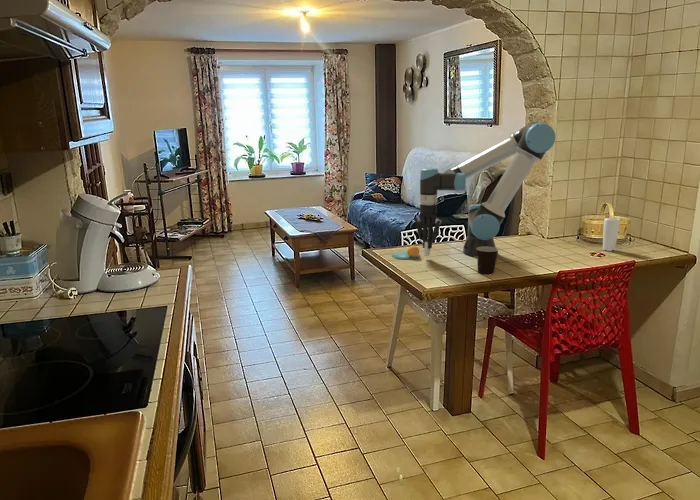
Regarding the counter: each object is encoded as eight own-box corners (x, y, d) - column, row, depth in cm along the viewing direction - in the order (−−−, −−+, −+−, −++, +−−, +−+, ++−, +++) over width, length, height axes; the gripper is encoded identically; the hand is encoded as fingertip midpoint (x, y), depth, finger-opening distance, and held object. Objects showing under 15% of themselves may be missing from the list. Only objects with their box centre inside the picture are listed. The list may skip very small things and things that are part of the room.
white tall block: (617, 249, 249) (621, 218, 245) (615, 252, 244) (619, 221, 240) (601, 247, 253) (605, 217, 249) (599, 250, 247) (603, 219, 243)
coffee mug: (493, 276, 212) (494, 252, 209) (472, 273, 216) (473, 250, 214) (501, 269, 221) (502, 246, 219) (481, 266, 226) (482, 243, 223)
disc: (425, 254, 246) (425, 254, 246) (411, 261, 235) (411, 260, 235) (400, 250, 253) (400, 250, 253) (386, 257, 243) (386, 256, 243)
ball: (409, 245, 245) (412, 257, 245) (403, 248, 240) (407, 259, 240) (419, 243, 242) (422, 254, 242) (414, 245, 237) (417, 257, 237)
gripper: (411, 203, 232) (410, 255, 238) (437, 206, 225) (436, 259, 231) (419, 201, 238) (418, 251, 244) (445, 203, 231) (444, 255, 237)
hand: (427, 255), depth 237 cm, fingers closed
